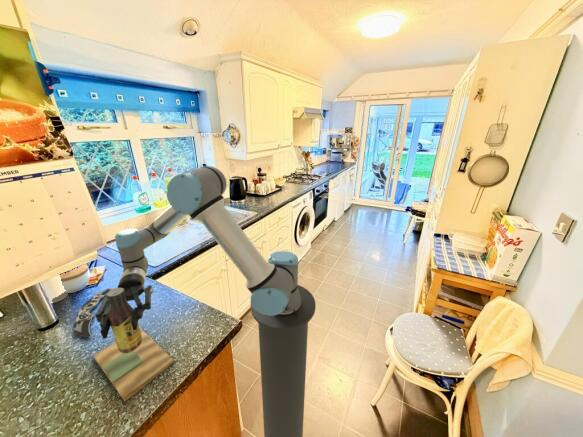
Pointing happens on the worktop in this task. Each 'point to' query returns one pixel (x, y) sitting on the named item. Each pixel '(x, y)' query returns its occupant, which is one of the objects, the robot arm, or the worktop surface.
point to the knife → (87, 314)
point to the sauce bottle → (123, 322)
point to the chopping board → (133, 365)
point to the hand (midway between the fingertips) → (119, 330)
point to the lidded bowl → (75, 279)
